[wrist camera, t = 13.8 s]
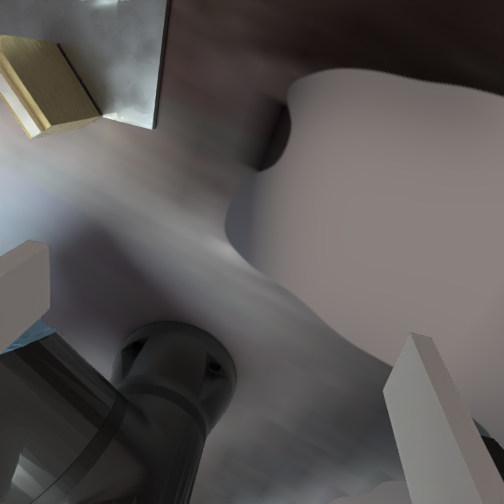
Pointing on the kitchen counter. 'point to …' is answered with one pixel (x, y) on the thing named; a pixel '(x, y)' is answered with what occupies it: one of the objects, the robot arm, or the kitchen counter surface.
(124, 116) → the base plate
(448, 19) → the kitchen counter surface
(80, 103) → the yellow white layered bar
